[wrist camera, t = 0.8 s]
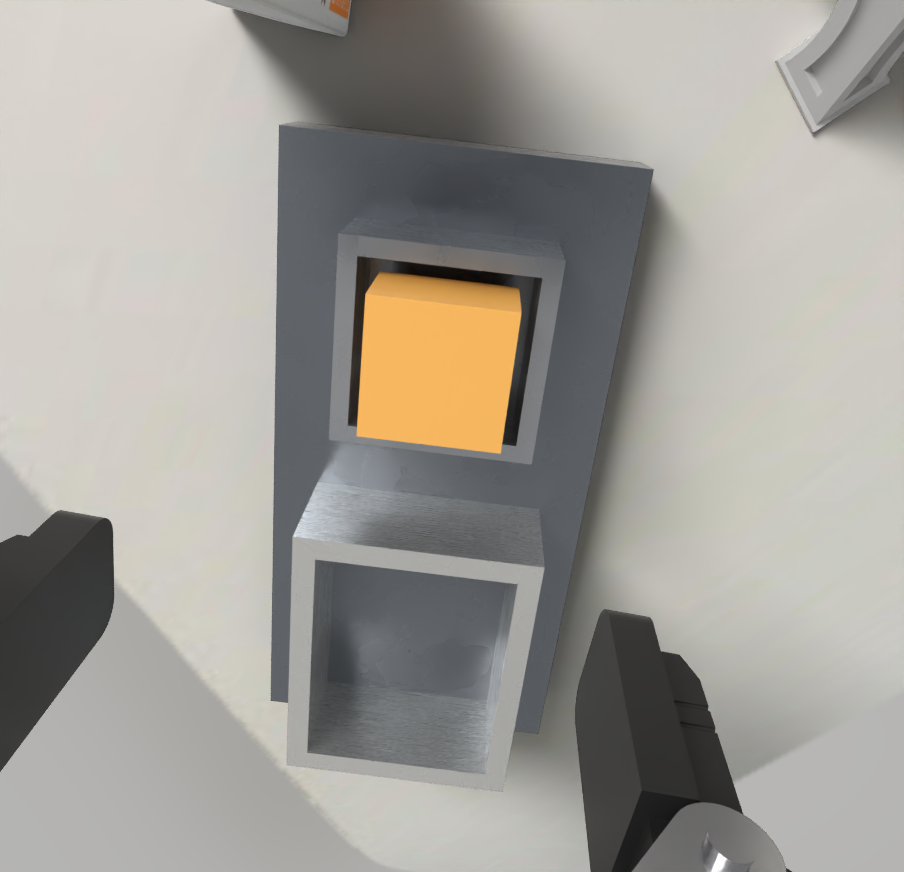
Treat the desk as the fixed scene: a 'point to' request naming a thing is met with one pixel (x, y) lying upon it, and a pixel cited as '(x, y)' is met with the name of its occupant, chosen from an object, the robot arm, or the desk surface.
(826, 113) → the eiffel tower
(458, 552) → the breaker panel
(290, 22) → the skincare box
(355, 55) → the desk surface
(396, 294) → the button
